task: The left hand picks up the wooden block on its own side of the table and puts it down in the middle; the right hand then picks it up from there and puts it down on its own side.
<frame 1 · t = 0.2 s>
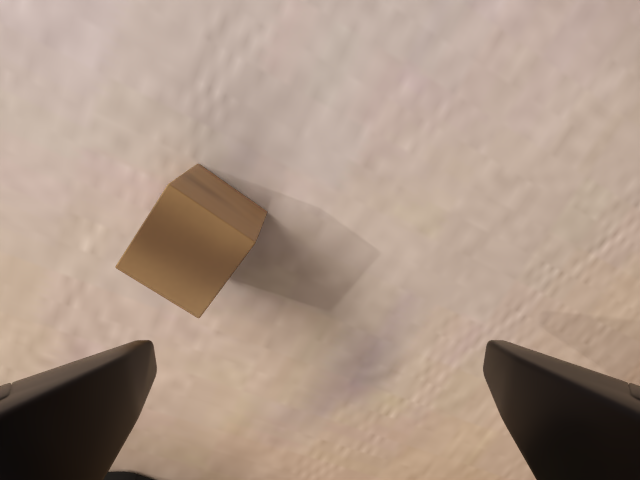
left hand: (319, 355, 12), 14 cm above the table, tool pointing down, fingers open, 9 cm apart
block: (209, 222, 25), on the table
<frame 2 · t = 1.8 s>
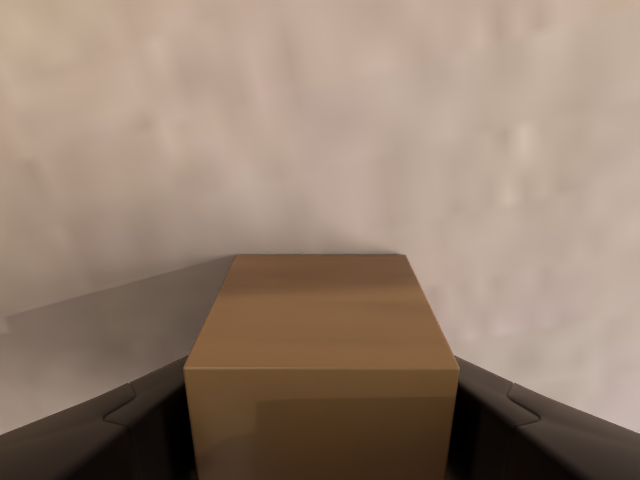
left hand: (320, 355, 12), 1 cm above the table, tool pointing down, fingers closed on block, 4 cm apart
block: (320, 334, 13), on the table, touching left hand
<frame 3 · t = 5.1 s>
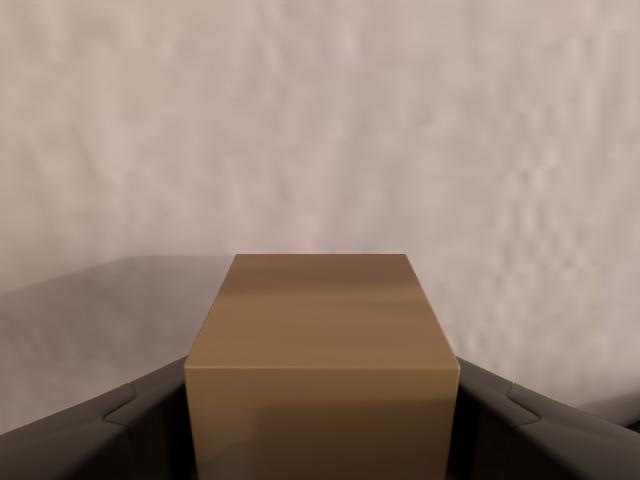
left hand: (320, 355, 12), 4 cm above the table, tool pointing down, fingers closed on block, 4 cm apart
block: (321, 333, 13), point 3 cm above the table, touching left hand
when the left hand's fingers open (2 cm above the table, at t = 8.5 s): block stays where it is, on the table.
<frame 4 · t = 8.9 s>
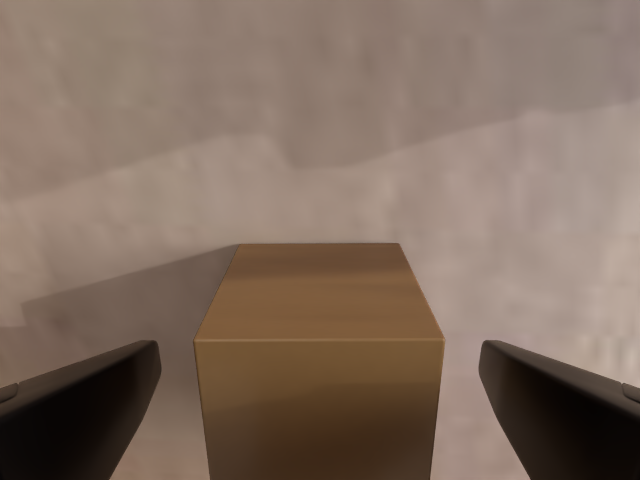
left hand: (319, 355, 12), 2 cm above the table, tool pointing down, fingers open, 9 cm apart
block: (319, 319, 13), on the table
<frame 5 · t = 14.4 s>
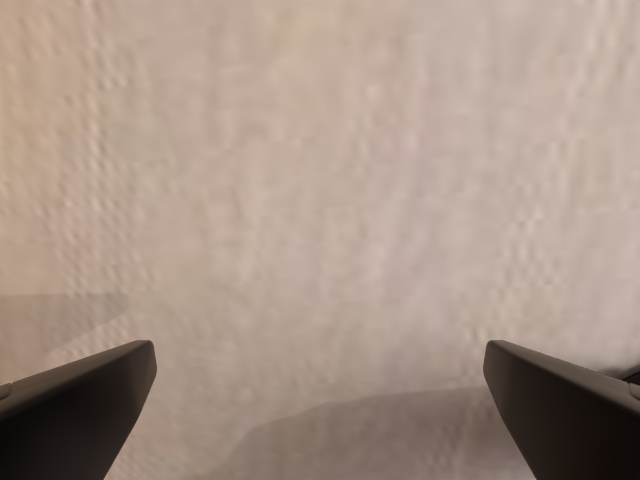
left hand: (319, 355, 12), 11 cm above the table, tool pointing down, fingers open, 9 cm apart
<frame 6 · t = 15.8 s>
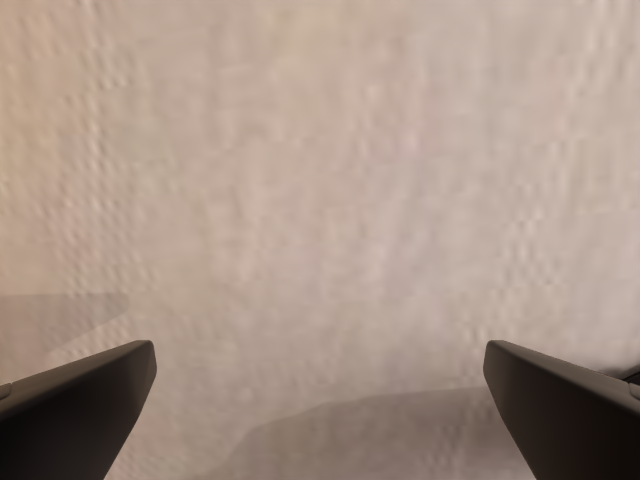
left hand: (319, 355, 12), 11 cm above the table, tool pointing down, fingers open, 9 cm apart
when the right hand's fingers open (2 cm above the table, at t = 17.4 s): block stays where it is, on the table.
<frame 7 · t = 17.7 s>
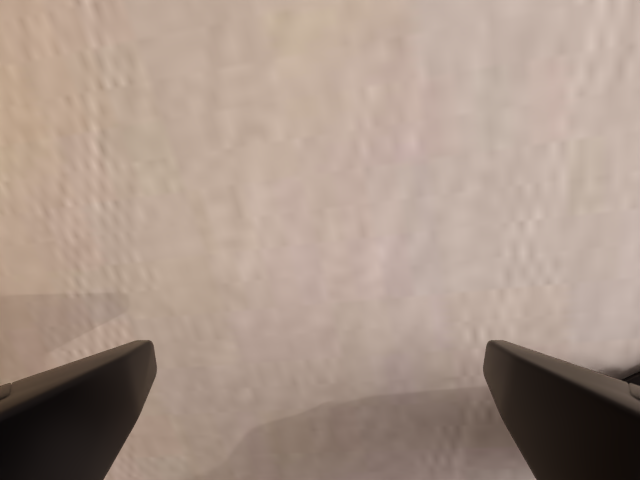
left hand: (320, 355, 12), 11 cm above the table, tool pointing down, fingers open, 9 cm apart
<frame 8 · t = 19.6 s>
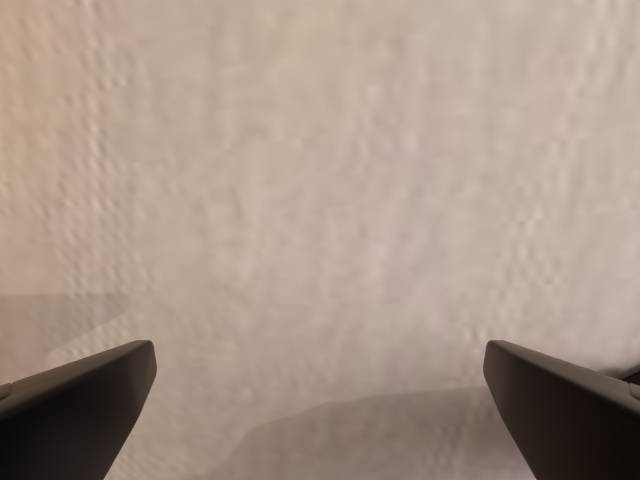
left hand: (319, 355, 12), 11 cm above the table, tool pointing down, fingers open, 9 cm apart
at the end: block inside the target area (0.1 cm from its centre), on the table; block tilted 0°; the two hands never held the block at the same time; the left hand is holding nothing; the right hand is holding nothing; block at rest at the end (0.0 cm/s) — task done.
